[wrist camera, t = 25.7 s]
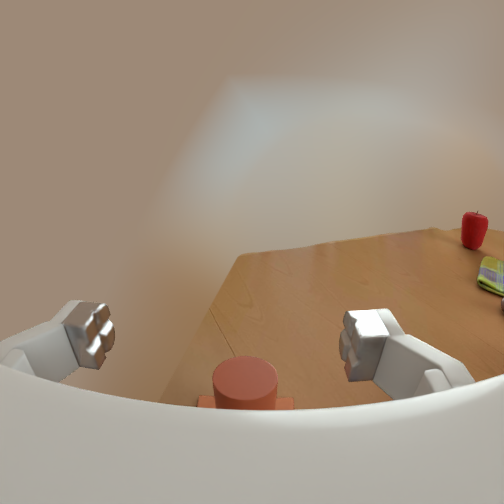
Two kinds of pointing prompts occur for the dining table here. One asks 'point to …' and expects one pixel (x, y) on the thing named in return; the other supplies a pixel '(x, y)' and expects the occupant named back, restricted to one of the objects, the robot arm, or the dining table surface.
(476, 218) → the apple
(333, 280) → the dining table surface
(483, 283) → the dish towel
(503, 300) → the egg
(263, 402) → the terracotta canister
